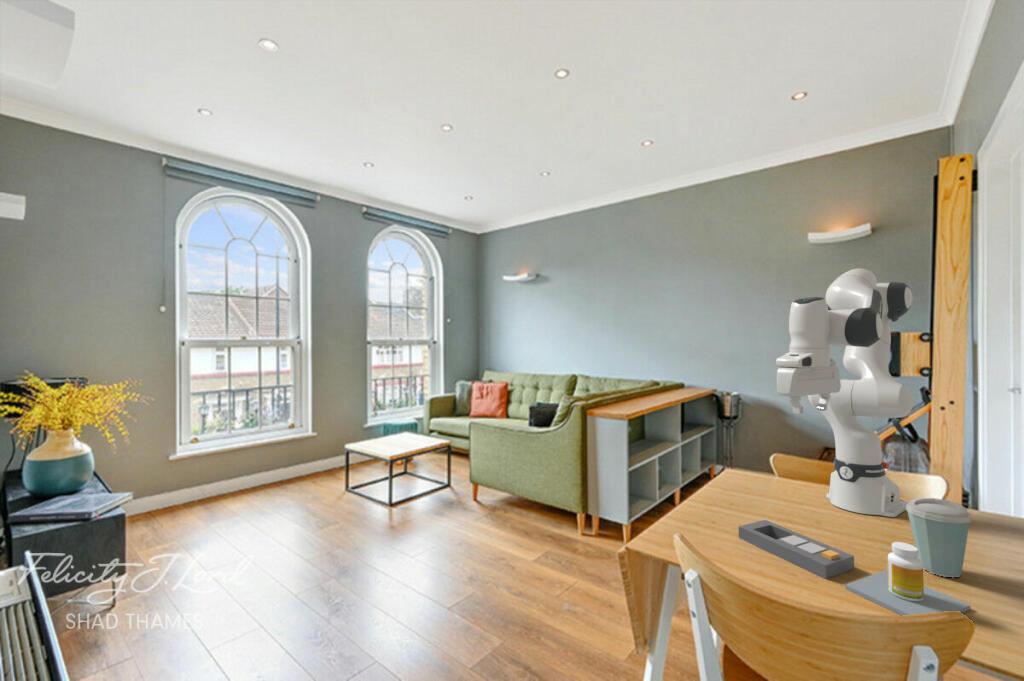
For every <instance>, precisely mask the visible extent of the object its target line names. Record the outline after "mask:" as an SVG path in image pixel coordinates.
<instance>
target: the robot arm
mask: <svg viewBox="0 0 1024 681" xmlns="http://www.w3.org/2000/svg"><path fill="white" fill-rule="evenodd" d="M912 304H913V293H912V290H911V289H910V286H909V285H908V284H906V283H905V282H900V281H891V282H878V280H877V277H876V275H875V274H874V273H873V271H871V270H869V269H865V268H852V269H850V270H847V271H846V272H844V273H842V274H841V275H839V276H838V277H837V278H835V280H834V281H832V283H831V284H830V285H829V286H828V288H827V289H826V292H825V297H822V296H809V297H803V298H798V299H795V300H793V301H792V302H791V305H790V310H789V318H788V332H789V337H790V343H789V351H788V352H786V353H784V355H781V356H780V357H779V356H778V357H777V358H776V360H775V364H776V366H777V367H778V369H777V370H776V391H777V393H778V395H779V396H781V397H787V398H788V400H789V402H790V405H791V406H792V413H793V414H798V415H799V414H803V413H804V406H802V405H801V402H800V401H801V397H803V396H804V397H805V396H807V398H808V401H809V403H810V404H811V406H812V407H813V409H815V410H816V411H818V412H819V413H820V414H821V415H822V416H823V417H824V418H825V419H826V420H827V422H828V423H829V425H830V427H831V429H832V431H833V432H832V433H833V435H834V436H833V437H834V444H835V446H834V447H835V456H834V458H833V469H834V471H832V472H831V474H830V481H829V492H826V494H825V497H826V498H827V499H828V500H829V502H830V504H832V505H833V506H835V507H837V508H840V509H842V510H845V511H850V512H852V513H857V514H858V513H859V514H863V515H873V516H874V515H875V516H883V517H889V518H896V517H898V516H899V515H900V514H901V513H903V512H905V511H907V510H906V505H907V504H908V503H909V502H908V501H906V500H904V499H901V496H900V495H901V494H900V487H899V486H898V485H897V484H896V483H895V482H894V481H893V480H892V479H890V478H889V477H888V476H887V475H886V470H889V469H890V463H889V462H885V461H882V444H881V443H882V440H881V438H880V437H879V435H878V434H877V433H875V431H873V430H871V429H870V428H867V427H866V426H864V425H862V424H861V423H860V422H859V420H858V418H857V417H865V418H877V419H898V418H905V416H907V415H908V414H910V412H911V410H912V408H913V406H914V397H913V395H912V392H911V391H910V390H909V388H907V387H906V386H905V385H903V384H901V383H900V382H898V381H897V380H896V379H895V378H894V377H893V376H892V375H891V373H890V371H889V354H890V349H891V341H892V335H891V334H892V333H891V325H890V320H891V322H893V323H895V322H898V320H899V319H900V318H901V317H902V316H904V315H905V314H906V313H907V312H908V311H909V310H910V309H911V306H912ZM832 346H833V347H845V349H844V354H843V357H842V364H843V367H844V368H845V369H846V371H848V372H849V373H850V374H852V375H854V376H856V377H857V378H860V379H845V378H843V379H841V376H840V369H839V367H838V366H837V362H835V360H834V359H833V358H831V347H832Z"/></svg>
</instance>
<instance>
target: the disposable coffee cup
mask: <svg viewBox="0 0 1024 681" xmlns="http://www.w3.org/2000/svg"><path fill="white" fill-rule="evenodd" d="M905 511H907V516H908V520H909V524H910V529H911V533H912V537H913V541H914V545H915V547H916V548H917V549H918V557H917V558H918V559H920V560H921V561H922V563H923V568H924V569H925V570H927V571H929V572H931V573H933V574H936V575H935V576H937V575H939V576H938V577H941V576H943V577H942V578H945V577H952V578H951V579H954V578H953V577H959V578H960V576H961V575H962V573H963V567H964V561H965V555H966V554H965V553H966V548H967V541H968V536H969V535H968V534H969V528H970V524H971V521H972V520H973V519H972V515H971V513H969V512H968V508H966V507H965V506H963V505H962V504H961V503H956V502H954V501H950V500H946V499H940V498H935V497H917V498H912V499H911V500H910V501H909V502H908V504H907V505H906V510H905ZM924 569H923V570H924ZM925 570H924V571H925ZM927 571H926V572H927ZM929 572H928V573H929ZM931 573H930V574H931ZM933 574H932V575H933Z"/></svg>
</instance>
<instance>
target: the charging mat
mask: <svg viewBox="0 0 1024 681" xmlns="http://www.w3.org/2000/svg"><path fill="white" fill-rule="evenodd" d="M845 590H847V591H850V592H852V593H855V594H856V595H858V596H859V597H863V598H865V599H867V600H869V601H870V602H873V603H875V604H877V605H879V606H881V607H883V608H886V609H888V610H889V611H891V612H894V613H896V614H898V615H900V616H902V615H913V614H923V613H934V612H944V611H960V612H963V613H966V612H967V611H970V610H971V604H969V603H966V602H964V601H962V600H959V599H957V598H954V597H952V596H949V595H947V594H944V593H942V592H940V591H937V590H934V589H932V588H930V587H927V586H924V599H923V600H922V601H918V602H916V601H908V600H905V599H902V598H899V597H897V596H895V595H893V594H892V593H891V592H890V591H889V590H888V570H887V569H885V570H882V571H879V572H877V573H874V574H872V575H868V576H866V577H862V578H860V579H858V580H855V581H854V580H853V581H852V582H849V583H847V584H845ZM969 609H970V610H969ZM963 613H962V614H963Z"/></svg>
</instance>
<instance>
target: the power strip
mask: <svg viewBox="0 0 1024 681" xmlns="http://www.w3.org/2000/svg"><path fill="white" fill-rule="evenodd" d="M738 538H739V539H740V540H742V541H745V542H747V543H749V544H751V545H754V546H755V547H757V548H760V549H761V550H764V551H766V552H767V553H770V554H773V555H774V556H776V557H778V558H780V559H782V560H785V561H787V562H789V563H791V564H793V565H795V566H798V567H800V568H801V569H804V570H806V571H807V572H810V573H812V574H814V575H816V576H818V577H821V578H823V579H825V580H827V579H830V578H833V577H836V576H839V575H841V574H844V573H847V572H850V571H853V570H855V555H854V554H853V555H852V553H851V554H850V553H847V552H845V551H843V550H840V549H838V548H835V547H833V546H830V545H828V544H825V543H823V542H821V541H818V540H816V539H814V538H810V537H808V536H806V535H804V534H801V533H798V532H797V531H793V530H791V529H788V528H786V527H784V526H781V525H779V524H777V523H773V521H772V522H771V521H769V520H767V519H763V520H759V521H758V520H757V521H755V522H750V523H746V524H743V525H739V526H738Z"/></svg>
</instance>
